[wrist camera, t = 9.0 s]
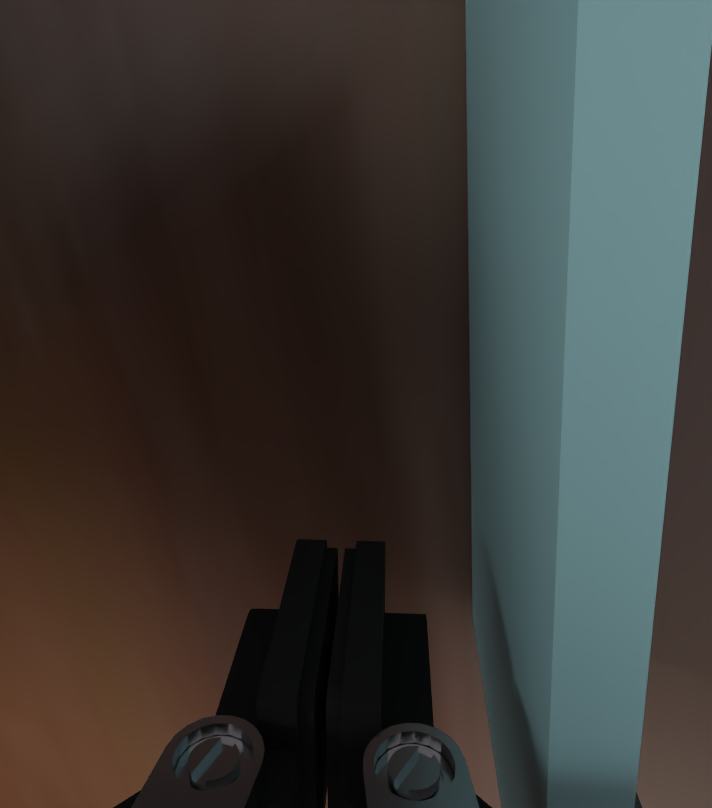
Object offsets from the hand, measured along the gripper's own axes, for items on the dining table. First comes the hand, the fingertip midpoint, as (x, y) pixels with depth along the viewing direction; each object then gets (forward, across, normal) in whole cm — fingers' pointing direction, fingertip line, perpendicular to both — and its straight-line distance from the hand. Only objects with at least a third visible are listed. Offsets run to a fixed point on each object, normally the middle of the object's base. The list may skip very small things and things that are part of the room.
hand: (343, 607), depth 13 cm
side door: (+5, -3, -6) cm, 8 cm away
